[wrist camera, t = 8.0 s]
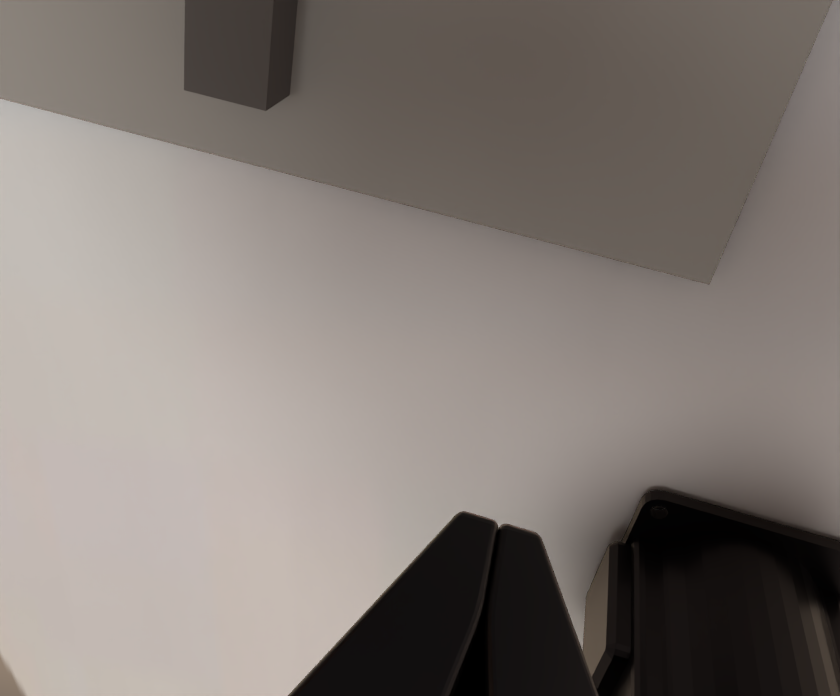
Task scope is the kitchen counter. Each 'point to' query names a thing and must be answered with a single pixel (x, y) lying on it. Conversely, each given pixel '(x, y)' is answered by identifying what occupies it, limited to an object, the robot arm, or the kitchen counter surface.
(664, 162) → the rubber mat
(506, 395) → the kitchen counter surface
